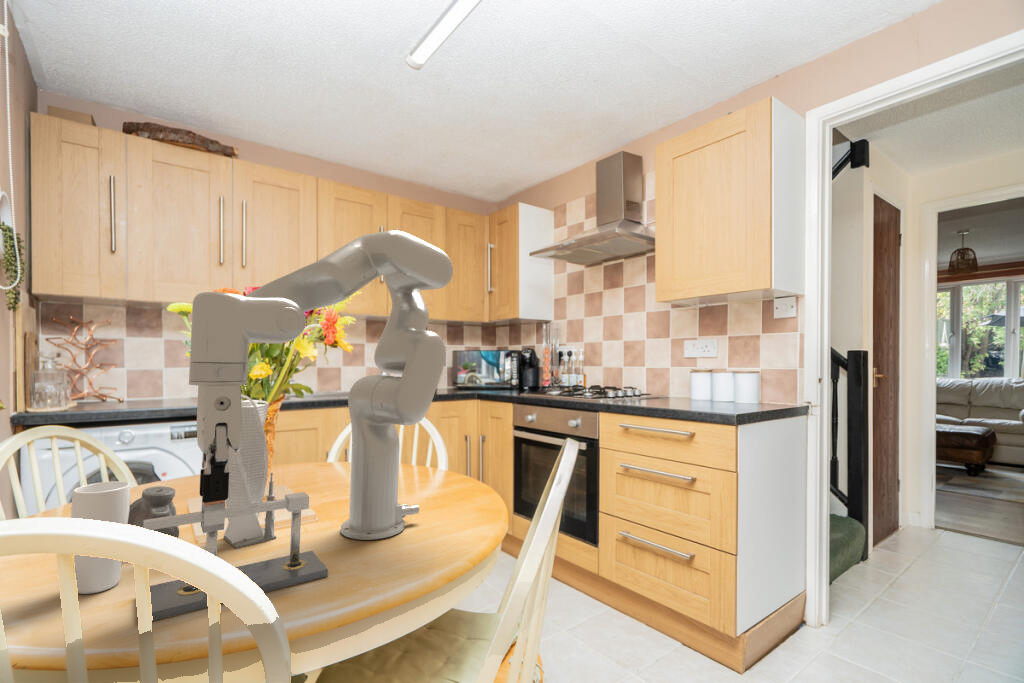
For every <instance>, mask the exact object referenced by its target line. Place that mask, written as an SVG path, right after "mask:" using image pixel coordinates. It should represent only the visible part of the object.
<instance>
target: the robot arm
mask: <svg viewBox="0 0 1024 683" xmlns="http://www.w3.org/2000/svg"><path fill="white" fill-rule="evenodd" d="M453 275H454V266H453V263H452V260H451V259H450V257H449V256H448V254H447V253H446V252H444V251H443V250H442V249H441V248H439V247H436V246H435V245H432V244H431V243H429V242H427V241H425V240H423V239H421V238H419V237H416V236H414V235H412V234H410V233H408V232H406V231H402V230H401V231H400V230H395V229H393V230H386V231H380V232H375V233H374V232H373V233H372V232H371V233H369V234H368V233H367V234H363V235H361V236H358V237H357V238H354V239H353V240H351V241H350V242H347V243H346V244H345V245H343V246H341V247H339V248H337V249H336V250H334V251H332V252H330V253H329V254H327V255H326V256H324V257H322V258H320V259H318V260H316V261H314V262H312V263H310V264H308V265H305V266H303V267H301V268H299V269H296V270H294V271H293V272H290V273H288V274H286V275H283V276H281V277H279V278H276V279H274V280H272V281H269V282H268V283H266V284H263V285H262V286H260V287H258V288H256V289H254V290H253V291H251V292H249V293H247V294H246V295H241V294H238V293H237V294H236V293H234V292H233V293H231V292H223V291H204V292H200V293H197V294H196V295H195V296H194V298H193V300H192V306H191V307H192V309H191V310H192V311H191V313H192V314H191V331H190V332H191V333H190V335H191V336H190V353H189V354H190V356H189V357H190V358H189V361H190V362H189V374H188V377H189V378H188V385H189V386H197V405H196V406H197V408H196V438H197V439H196V440H197V441H196V442H197V446H198V448H199V449H200V451H201V452H202V458H201V460H202V461H201V469H200V474H199V475H200V476H199V496H200V497H202V499H201V502H202V501H203V502H204V503H208V502H215V501H222V500H225V501H226V500H227V499H228V490H229V472H228V470H229V445H230V446H231V447H232V449H233V450H234V451H235V452H238V451H239V450H240V449H241V447H242V401H243V400H242V397H241V394H242V389H241V388H242V387H241V386H244V385H248V371H249V370H248V369H249V350H250V349H249V348H250V344H285V343H289V342H292V341H294V340H296V339H297V338H299V336H300V335H301V334H302V333H303V332H304V331H305V328H306V323H307V318H306V314H305V312H309V311H312V310H316V309H321V308H325V307H330V306H332V305H335V304H338V303H340V302H344V301H345V300H347V299H348V298H350V297H351V296H352V295H354V294H355V293H357V292H358V291H360V290H361V289H362V288H364V287H365V286H367V285H368V284H370V283H371V282H373V280H375V279H377V278H379V277H381V276H383V278H384V282H385V285H386V287H387V290H388V292H389V295H390V299H391V304H392V305H391V311H390V314H389V316H388V319H387V321H386V324H385V327H384V329H383V330H382V333H381V336H380V338H379V341H378V342H377V345H376V348H375V351H374V357H373V360H374V363H375V366H376V367H377V368H378V370H380V371H382V372H385V373H388V374H392V375H379V374H378V375H377V374H376V375H375V374H374V375H372V374H371V375H367V376H364V377H361V378H359V379H357V381H356V382H354V383H353V385H352V386H351V388H350V389H349V392H348V397H347V398H348V399H347V401H348V402H347V403H348V411H349V412H348V413H349V417H350V423H351V462H350V464H351V465H350V491H349V492H350V493H349V514H348V515H349V517H348V518H349V519H347V520H345V521H344V522H342V524H341V525H340V533H341V535H343V536H344V537H346V538H349V539H352V540H360V541H370V540H371V541H373V540H380V539H381V540H382V539H387V538H389V537H393V536H395V535H398V534H399V533H401V532H402V531H403V530H404V528H405V520H404V518H406V517H407V516H409V515H410V516H411V515H416V514H419V512H420V508H419V507H420V506H419V504H412V505H411V504H410V505H409V504H408V503H403V504H400V503H399V500H398V499H399V474H400V472H399V471H400V470H399V469H400V468H399V467H400V448H401V447H400V437H399V433H398V430H397V428H396V425H399V426H413V425H416V424H418V423H420V422H421V421H422V420H423V419H424V418H425V417H426V415H427V413H428V411H429V410H430V407H431V404H432V402H433V399H434V398H435V393H436V391H437V388H438V384H439V382H440V380H441V377H442V375H443V374H442V373H443V371H444V367H445V364H446V360H447V359H446V356H447V355H446V354H447V353H446V345H445V343H444V341H443V339H442V337H441V336H440V335H439V334H438V333H437V332H434V331H431V330H427V327H428V325H429V320H430V315H429V314H430V313H429V309H428V307H427V304H426V302H425V300H424V297H423V296H422V293H421V291H428V290H429V291H431V290H440V289H443V288H445V287H446V286H447V285H448V284H449V283H450V282H451V281H452V278H453ZM393 374H394V375H401V376H393ZM211 459H212V460H211ZM204 460H206V474H204V475H203V473H204Z"/></svg>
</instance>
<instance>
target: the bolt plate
mask: <svg viewBox="0 0 1024 683" xmlns="http://www.w3.org/2000/svg"><path fill="white" fill-rule="evenodd" d="M235 567H236V568H238V569H239V570H241V571H242V572H243V573H244V574H246V575H247V576H248V577H249V578H250V579H251V580H252V581H253V582H255V583H256V584H257V585H258V586H259V587H260V588H261V589H262V590H263V591H264V592H265V593H269V592H271V591H277V590H281V589H284V588H288V587H292V586H296V585H299V584H304V583H307V582H312V581H315V580H319V579H323V578H328V574H329V573H328V572H329V568H328V567H327V566H326V565H325V563H323V562H322V560H321V559H320V558H319V557H318V556H317V554H316V553H315V552H314V551H313V550H307V551H303V552H299V563H298V564H297V565H291V564H290V554H289V555H285V556H281V557H280V556H279V557H276V558H272V559H271V558H270V559H268V560H261V561H258V562H257V561H256V562H253V563H249V564H248V563H247V564H244V565H239V566H235ZM149 586H150V592H151V604H152V616H153V621H152V622H156V621H159V620H158V619H160V620H164V619H167V617H168V618H171V617H170V616H172V617H175V616H180V615H183V614H186V613H187V614H188V613H191V612H194V611H198V610H202V609H206V608H208V607H207V594H206V593H205V592H203V591H201V590H200V589H198V588H196V587H194V586H192V585H190V584H188V583H185V582H184V581H181V580H179V579H176V580H172V581H171V580H170V581H167V582H163V583H156V584H153V585H149ZM174 615H175V616H174ZM163 618H164V619H163Z"/></svg>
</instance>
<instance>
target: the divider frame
mask: <svg viewBox="0 0 1024 683" xmlns="http://www.w3.org/2000/svg"><path fill="white" fill-rule="evenodd" d="M309 508H310V496H309V495H308V494H307V493H306V492H305V491H301V492H294V493H288V494H284V498H283V499H274V501H267V500H266V501H262V502H260V503H254V504H247V505H240V506H234V507H227V508H226V507H225V519H228V518H229V517H235V516H241V515H247V514H253V513H259V512H260V513H264V512H265V513H266V511H272V510H274V511H276V510H284V509H286V510H287V511H288V512H289V513H291V521H290V522H291V524H290V543H289V544H290V546H289V547H290V549H289V555H290V564H291V565H297V564H298V563H299V553H301V552H300V549H301V548H300V546H301V522H302V511H304V510H308V509H309ZM260 513H259V514H260ZM203 516H204V511H202V510H201V511H196V512H195V511H194V512H189V513H182V514H176V515H174V516H167V517H161V518H154V519H148V520H144V525H143V528H146V529H149V530H155V529H161V528H167V527H173V526H178V527H179V526H185V525H191V524H197V523H201V522H203Z"/></svg>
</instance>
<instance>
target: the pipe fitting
mask: <svg viewBox="0 0 1024 683" xmlns="http://www.w3.org/2000/svg"><path fill="white" fill-rule="evenodd" d="M175 496H176V489H175V488H173V487H171V486H170V487H169V486H163V485H162V486H152V487H151V486H150V487H146V488H145V489H143V490H142V493H141V497H140V498H138V499H136V500H135V501H133V502H132V503H130V511H129V518H128V524H131V525H136V526H140V527H143V525H144V520H148V519H154V518H161V517H167V516H174V515H177V509H176V506H175V504H174V502H173V499H174V498H175ZM154 531H158V532H161V533H164V534H168V535H171V536H174V537H177V538H179V536H180V528H179V526H173V527H167V528H161V529H155V530H154Z"/></svg>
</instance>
